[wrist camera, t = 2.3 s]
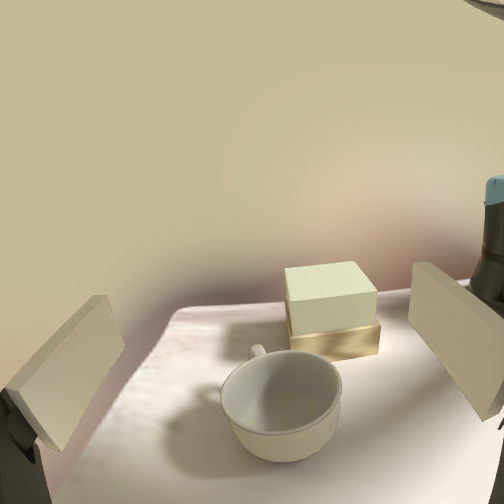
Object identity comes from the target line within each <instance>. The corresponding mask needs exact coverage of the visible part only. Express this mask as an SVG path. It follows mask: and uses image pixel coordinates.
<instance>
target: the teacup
mask: <svg viewBox="0 0 504 504" xmlns="http://www.w3.org/2000/svg"><path fill="white" fill-rule="evenodd" d="M248 355H249V359H250V360H248V361H246V362H245V363H243V364H241V365H240V366H238V367H237V368H236V369H235V370H234V371H233V372H232V373H231V374H230V375H229V376H228V377H227V379H226V380H225V382H224V384H223V386H222V389H221V395H220V401H221V406H222V409H223V412H224V413H225V415H226V416H227V418H228V420H229V422H230V425H231V427H232V429H233V431H234V433H235V435H236V437H237V439H238V440H239V442H240V443H241V444H242V446H243V447H244V448H245V449H246V450H247V451H249V452H250V453H252V454H253V455H255V456H256V457H259V458H261V459H264V460H267V461H272V462H293V461H298V460H301V459H304V458H307V457H309V456H311V455H313V454H314V453H316V452H318V451H319V450H320V449H322V448H323V447H324V446H325V445H326V444H327V443H328V441H329V440H330V438H331V437H332V435H333V433H334V431H335V429H336V426H337V422H338V417H339V408H340V396H341V391H342V381H341V378H340V375H339V372H338V371H337V369H336V368H335V366H334V365H332V364H331V362H329V361H328V360H326V359H325V358H324V357H321V356H319V355H317V354H315V353H311V352H307V351H301V350H281V351H275V352H270V353H266V352H265V349H264V348H263V346H262V345H260V344H256V345H253V346H251V347H250V348H249V349H248Z"/></svg>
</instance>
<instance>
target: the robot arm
mask: <svg viewBox="0 0 504 504" xmlns="http://www.w3.org/2000/svg"><path fill="white" fill-rule="evenodd" d="M464 1H465V2H467V3H469V4H471V5H472V6H474V7H476V8H478V9H480V10H482V11H484V12H486V13H488V14H490V15H492V16H494V17H496V18H499V19H501V20H504V0H464ZM484 205H485V222H484V236H483V245H482V254H481V258H480V260H479V262H478V265H477V267H476V270H475V273H474V275H473V276H472V278H471V280H470V283H469V288H468V290H467V289H466V288H464V287H463V286H462V285H460V284H459V283H458V282H456V281H455V280H454V279H452V278H451V277H449V276H448V275H446V274H445V273H444V272H442V271H441V270H440V269H438V268H437V267H436V266H434V265H433V264H431V263H430V262H429V261H426V262H418V263H413V275H412V286H411V296H410V304H409V312H408V321H409V323H410V324H411V325H412V326H413V327H414V329H415V330H416V331H417V333H418V334H419V335H420V336H421V338H422V339H423V340H424V341H425V343H426V344H427V345H428V347H429V348H430V349H431V350H432V352H433V353H434V354H435V356H436V357H437V358H438V360H439V361H440V362H441V364H442V365H443V366H444V368H445V369H446V370H447V372H448V373H449V374H450V376H451V377H452V379H453V380H454V381H455V383H456V384H457V386H458V387H459V388H460V390H461V391H462V393H463V394H464V395H465V397H466V398H467V400H468V401H469V403H470V404H471V406H472V407H473V409H474V410H475V412H476V413H477V415H478V416H479V418H480V419H481V421H482V422H483V421H485V420H487V419H489V418H491V417H493V416H495V415H497V414H498V413H499V412H500V410H501V408H502V407H503V405H504V175H500V176H494V177H491V178H490V179H489V180H488V181H487V184H486V196H485V201H484ZM124 347H125V346H124V344H123V341H122V338H121V335H120V332H119V329H118V327H117V324H116V321H115V318H114V315H113V312H112V309H111V306H110V303H109V299H108V296H107V295H95V296H93V297H91V298H90V299H89V300H88V301H87V302H86V303H85V304H84V305H83V306H82V307H81V308H80V309H79V310H78V311H77V312H76V313H75V314H74V315H73V316H72V317H71V318H70V319H69V320H68V321H67V322H66V323H64V324H63V325H62V327H60V328H59V329H58V330H57V332H55V333H54V335H53V336H52V337H51V338H50V339H49V340H48V341H47V342H46V343H45V344H44V345H43V346H42V347H41V348H40V349H39V350H38V351H37V352H36V353H35V354H34V355H33V357H32V358H31V359H29V361H28V362H27V363H26V364H25V365H24V366H23V367H22V368H21V369H20V370H19V372H18V373H17V374H16V375H15V376H14V377H13V378H12V379H11V380H10V381H9V383H8V384H7V385H6V386H5V387H4V389H3V390H2V391H1V392H0V504H52V502H51V498H50V495H49V491H48V487H47V483H46V479H45V476H44V471H43V466H42V462H41V456H40V450H39V448H38V445H37V444H36V443H35V440H36V438H37V436H38V437H39V438H40V439H41V441H42V442H43V443H44V444H45V446H46V447H48V448H51V449H54V450H57V451H60V452H63V450H64V448H65V446H66V444H67V443H68V441H69V439H70V437H71V435H72V434H73V432H74V430H75V428H76V427H77V425H78V423H79V421H80V420H81V418H82V416H83V414H84V413H85V411H86V409H87V407H88V406H89V404H90V403H91V401H92V399H93V397H94V396H95V394H96V393H97V391H98V389H99V388H100V386H101V384H102V383H103V381H104V379H105V378H106V376H107V374H108V373H109V371H110V370H111V368H112V366H113V365H114V363H115V362H116V360H117V359H118V357H119V355H120V354H121V352H122V351H123V349H124ZM503 425H504V418H503V420H502V421H501V423H500V425H499V427H498V430H501V428H502V427H503ZM488 504H504V439H503V445H502V451H501V456H500V461H499V466H498V470H497V474H496V478H495V482H494V486H493V490H492V493H491V496H490V500H489V503H488Z"/></svg>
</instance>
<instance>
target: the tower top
mask: <svg viewBox="0 0 504 504" xmlns="http://www.w3.org/2000/svg"><path fill="white" fill-rule="evenodd" d="M285 278H286V290H287V300H288V307H289V313H290V320H291V327H292V333H293V336H296V335H305V334H313V333H321V332H329V331H336V330H344V329H350V328H357V327H364V326H370V325H375V318H376V306H377V289H376V288H375V287H374V286H373V284H372V283H371V282H370V281H369V279H368V278H367V277H366V275H365V274H364V273H363V272H362V270H361V269H360V268H359V267H358V266H357V264H356V263H355V262H354V261H350V262H341V263H332V264H323V265H313V266H305V267H295V268H285Z"/></svg>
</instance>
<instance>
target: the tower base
mask: <svg viewBox="0 0 504 504" xmlns="http://www.w3.org/2000/svg"><path fill="white" fill-rule="evenodd" d="M285 309H286V321H287V328H288V336H289V343H290V350H301V351H307V352H311V353H315V354H317V355H319V356H321V357H324V358H325V359H326V360H328V361H329V362H334V361H341V360H347V359H353V358H358V357H364V356H369V355H374V354H378V348H379V340H380V330H381V325H380V324H379V322H378V320H377V319H376V318H375V325H370V326H364V327H357V328H350V329H344V330H336V331H329V332H321V333H313V334H305V335H296V336H293V333H292V327H291V320H290V313H289V307H288V300H287V297H285Z"/></svg>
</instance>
